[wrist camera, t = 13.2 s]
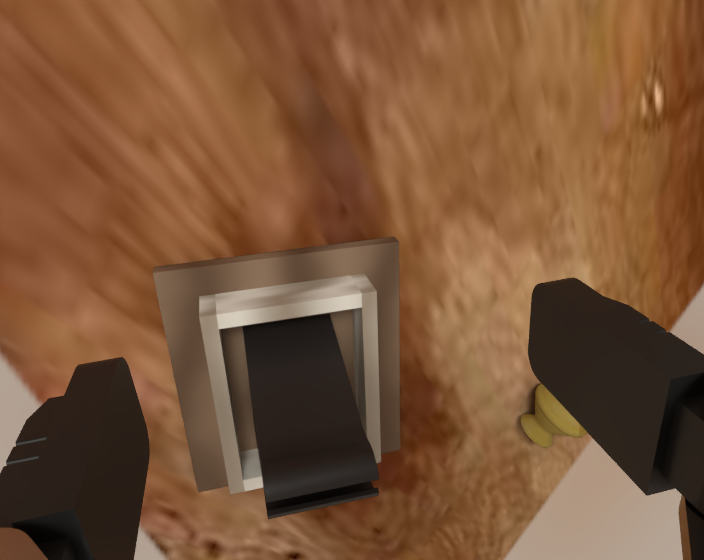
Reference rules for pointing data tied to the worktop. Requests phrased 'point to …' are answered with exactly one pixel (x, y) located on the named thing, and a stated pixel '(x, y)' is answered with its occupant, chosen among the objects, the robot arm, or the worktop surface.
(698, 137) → the worktop surface
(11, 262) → the worktop surface
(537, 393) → the knob
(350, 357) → the collar stand
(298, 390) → the phone stand
